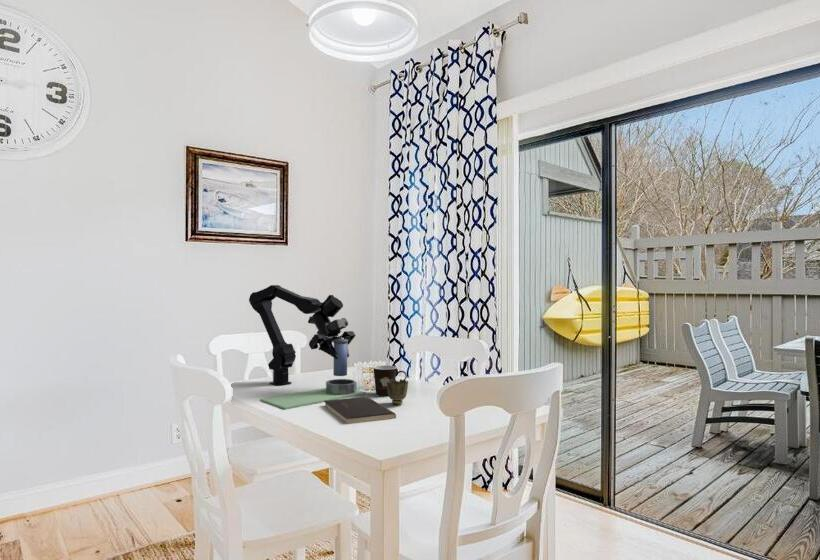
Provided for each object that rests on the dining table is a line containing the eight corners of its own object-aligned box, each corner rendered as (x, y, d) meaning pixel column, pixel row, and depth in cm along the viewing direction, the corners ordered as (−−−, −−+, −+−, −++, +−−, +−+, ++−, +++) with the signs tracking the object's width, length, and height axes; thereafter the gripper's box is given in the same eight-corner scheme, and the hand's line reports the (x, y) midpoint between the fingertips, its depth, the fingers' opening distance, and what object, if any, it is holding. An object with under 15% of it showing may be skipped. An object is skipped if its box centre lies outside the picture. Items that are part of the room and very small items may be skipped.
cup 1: (320, 391, 194) (320, 381, 194) (343, 386, 202) (343, 377, 202) (338, 396, 186) (338, 386, 186) (362, 391, 194) (362, 382, 194)
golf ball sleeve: (330, 375, 191) (331, 340, 191) (336, 373, 196) (337, 338, 196) (343, 376, 190) (344, 340, 190) (349, 374, 195) (350, 339, 195)
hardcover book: (346, 425, 154) (346, 418, 154) (323, 407, 174) (323, 400, 174) (395, 420, 161) (396, 412, 161) (368, 403, 181) (368, 396, 181)
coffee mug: (369, 395, 190) (369, 368, 190) (379, 391, 198) (379, 364, 198) (398, 399, 185) (398, 371, 185) (407, 394, 193) (407, 367, 193)
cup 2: (409, 401, 182) (409, 378, 181) (406, 407, 174) (407, 383, 174) (387, 401, 182) (388, 378, 182) (384, 406, 175) (385, 382, 175)
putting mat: (260, 400, 180) (260, 398, 180) (339, 386, 204) (339, 385, 204) (285, 409, 169) (285, 407, 169) (365, 393, 193) (365, 392, 193)
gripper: (314, 312, 188) (333, 345, 181) (352, 310, 202) (372, 341, 195) (300, 332, 194) (319, 365, 186) (338, 328, 208) (357, 359, 201)
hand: (342, 357), depth 192 cm, fingers closed on golf ball sleeve, 5 cm apart
